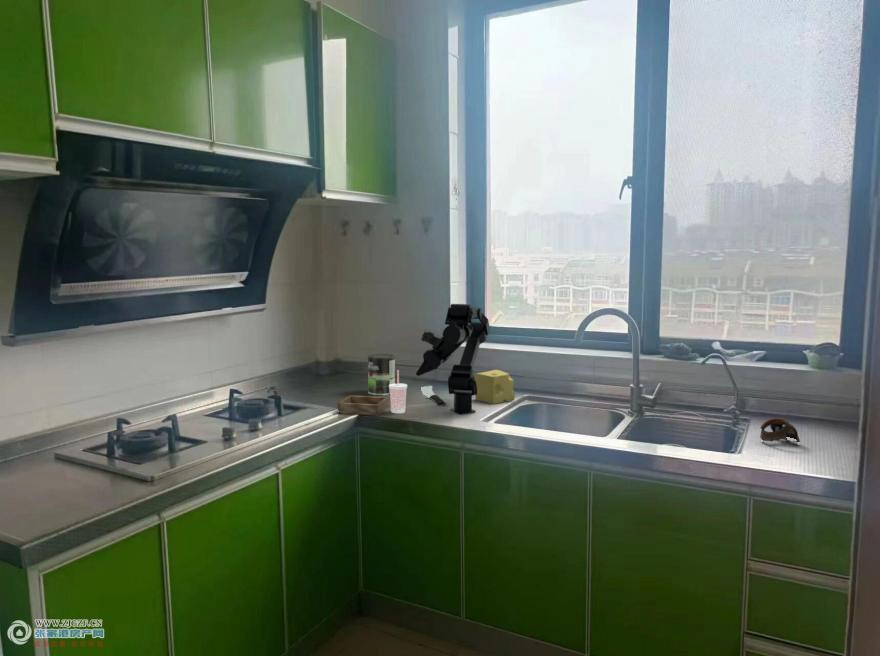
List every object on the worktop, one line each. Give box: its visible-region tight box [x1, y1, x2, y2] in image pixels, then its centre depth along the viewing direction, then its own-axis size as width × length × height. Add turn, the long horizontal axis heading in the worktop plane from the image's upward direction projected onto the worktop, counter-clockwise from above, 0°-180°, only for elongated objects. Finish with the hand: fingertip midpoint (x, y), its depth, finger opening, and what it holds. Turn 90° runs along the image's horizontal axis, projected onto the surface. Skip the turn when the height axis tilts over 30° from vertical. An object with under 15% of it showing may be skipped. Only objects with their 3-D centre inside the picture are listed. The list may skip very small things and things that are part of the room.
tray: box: [336, 394, 390, 416], centre depth 214 cm, size 14×12×3 cm
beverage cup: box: [389, 369, 408, 414], centre depth 212 cm, size 6×6×14 cm
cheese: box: [474, 369, 516, 405], centre depth 230 cm, size 10×11×10 cm
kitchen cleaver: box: [420, 385, 447, 407], centre depth 235 cm, size 31×2×10 cm
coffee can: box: [367, 353, 396, 396], centre depth 241 cm, size 10×10×14 cm
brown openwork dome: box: [759, 417, 801, 443], centre depth 179 cm, size 12×10×8 cm
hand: (420, 372), depth 209 cm, fingers open, 9 cm apart
